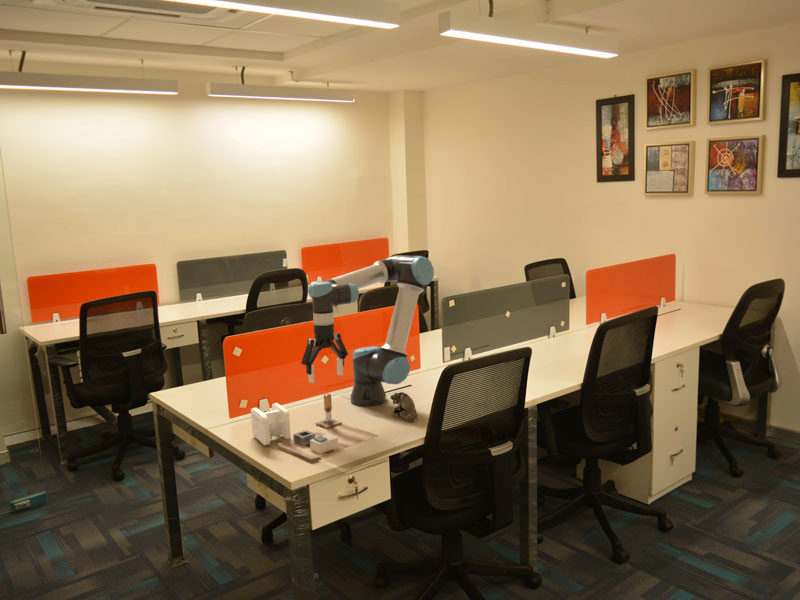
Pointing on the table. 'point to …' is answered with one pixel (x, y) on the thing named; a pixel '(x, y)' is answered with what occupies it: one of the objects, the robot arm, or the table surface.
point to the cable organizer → (270, 423)
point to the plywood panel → (302, 439)
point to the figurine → (404, 406)
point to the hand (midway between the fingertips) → (326, 378)
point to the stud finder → (323, 443)
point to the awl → (328, 408)
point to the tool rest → (327, 426)
